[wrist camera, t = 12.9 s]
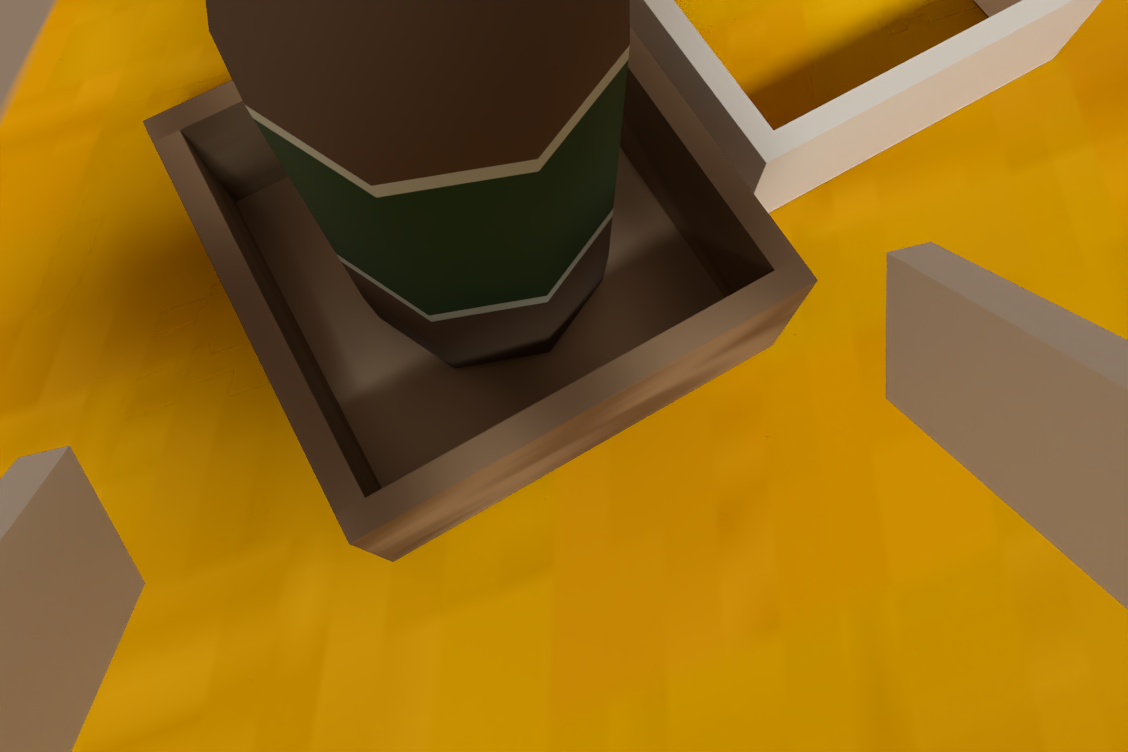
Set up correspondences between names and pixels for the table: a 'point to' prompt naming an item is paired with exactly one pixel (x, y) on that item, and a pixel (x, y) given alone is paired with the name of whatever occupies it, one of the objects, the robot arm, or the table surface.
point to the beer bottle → (446, 152)
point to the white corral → (852, 91)
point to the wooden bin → (496, 389)
